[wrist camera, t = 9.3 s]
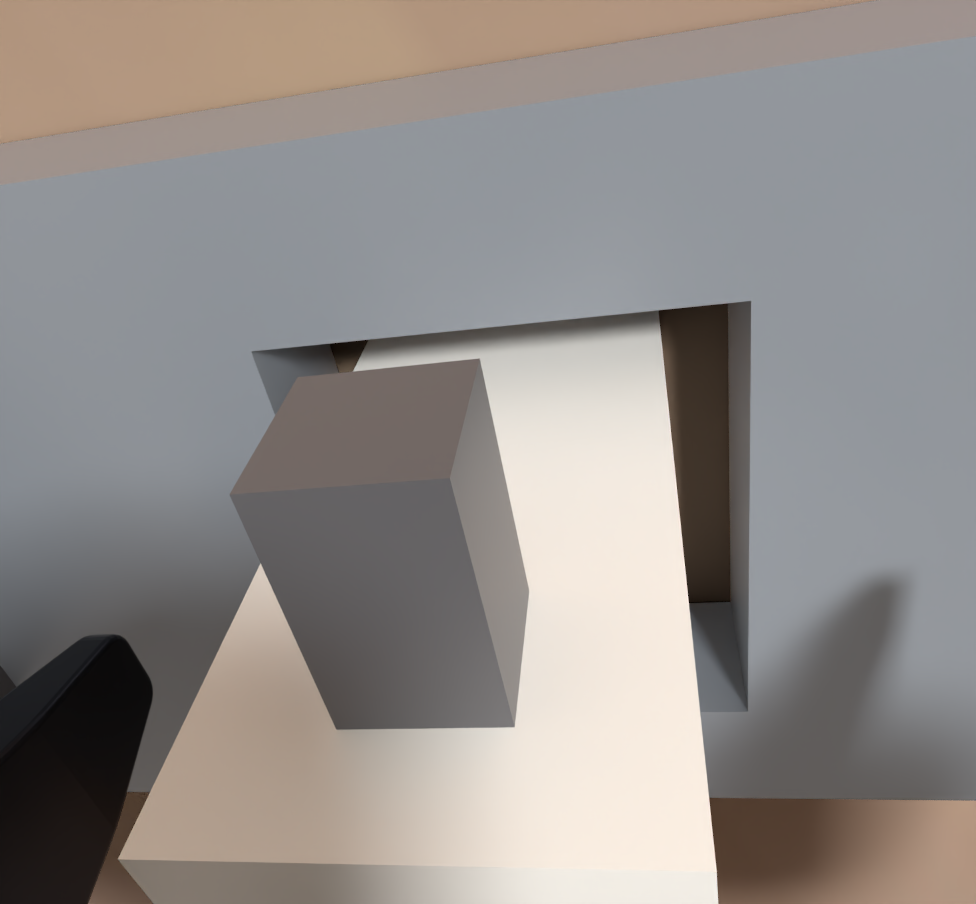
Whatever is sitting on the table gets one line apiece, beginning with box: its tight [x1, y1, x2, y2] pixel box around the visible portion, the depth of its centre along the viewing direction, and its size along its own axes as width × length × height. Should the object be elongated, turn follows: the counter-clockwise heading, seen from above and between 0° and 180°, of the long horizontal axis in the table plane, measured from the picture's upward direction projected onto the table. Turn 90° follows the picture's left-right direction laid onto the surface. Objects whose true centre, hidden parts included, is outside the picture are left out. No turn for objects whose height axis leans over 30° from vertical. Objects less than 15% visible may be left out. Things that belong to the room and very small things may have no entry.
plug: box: [118, 310, 718, 904], centre depth 8 cm, size 4×6×7 cm, turn 11°
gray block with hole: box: [0, 0, 976, 800], centre depth 10 cm, size 22×10×5 cm, turn 100°
